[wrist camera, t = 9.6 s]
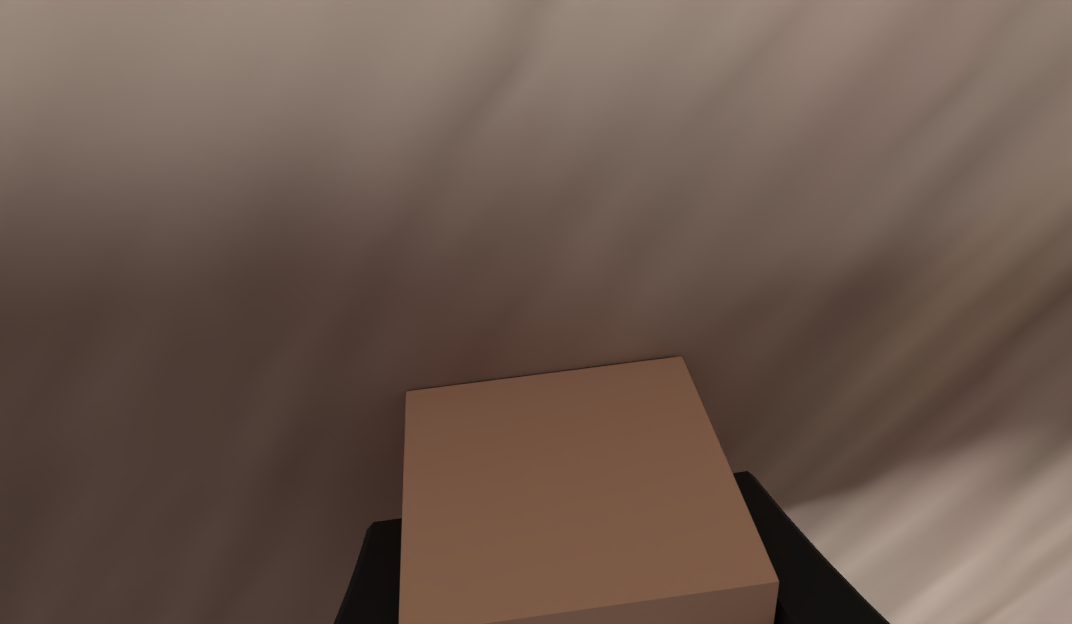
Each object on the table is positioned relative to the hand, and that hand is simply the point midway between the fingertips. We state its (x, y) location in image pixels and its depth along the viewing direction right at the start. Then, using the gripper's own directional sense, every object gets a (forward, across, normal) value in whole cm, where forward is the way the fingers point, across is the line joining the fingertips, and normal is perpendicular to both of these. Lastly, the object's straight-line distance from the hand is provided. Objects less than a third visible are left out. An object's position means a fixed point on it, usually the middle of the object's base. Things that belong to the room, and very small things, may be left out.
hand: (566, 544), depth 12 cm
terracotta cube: (+1, 0, 0) cm, 1 cm away
